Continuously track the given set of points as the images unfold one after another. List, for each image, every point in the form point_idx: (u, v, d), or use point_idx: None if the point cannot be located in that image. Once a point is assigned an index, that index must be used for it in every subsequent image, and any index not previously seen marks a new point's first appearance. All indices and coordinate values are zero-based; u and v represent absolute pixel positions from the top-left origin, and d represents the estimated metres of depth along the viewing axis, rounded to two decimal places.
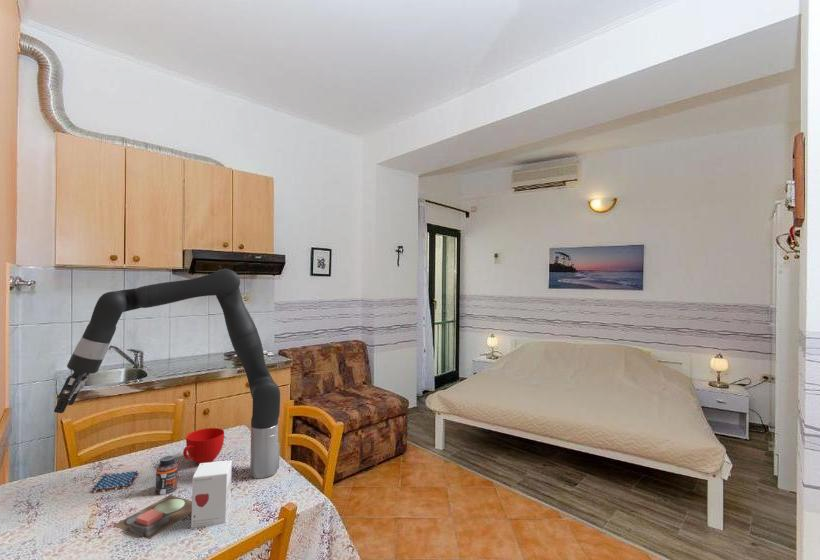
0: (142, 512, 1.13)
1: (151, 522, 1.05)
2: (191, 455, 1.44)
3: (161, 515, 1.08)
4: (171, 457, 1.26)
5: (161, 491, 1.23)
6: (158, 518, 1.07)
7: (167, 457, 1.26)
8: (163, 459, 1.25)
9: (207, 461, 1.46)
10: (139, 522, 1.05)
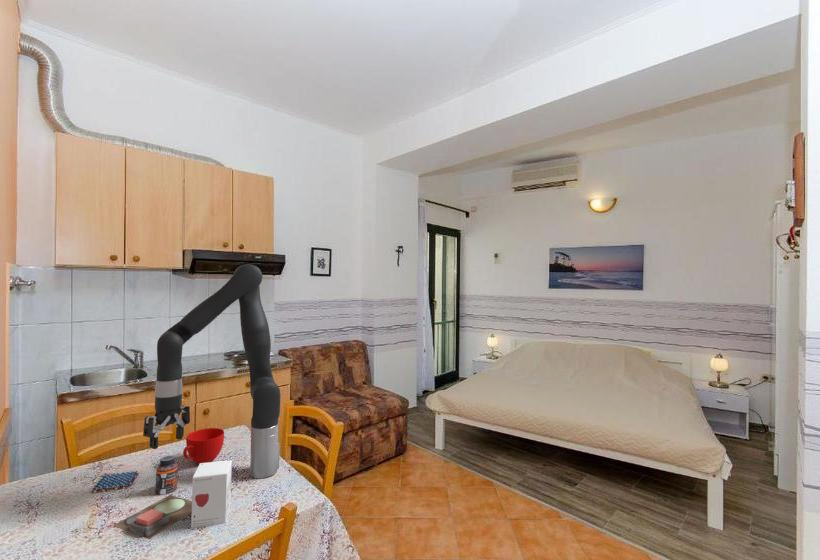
0: (142, 512, 1.13)
1: (151, 522, 1.05)
2: (191, 455, 1.44)
3: (161, 515, 1.08)
4: (171, 457, 1.26)
5: (162, 491, 1.23)
6: (158, 518, 1.07)
7: (167, 457, 1.26)
8: (163, 459, 1.25)
9: (207, 461, 1.46)
10: (139, 522, 1.05)
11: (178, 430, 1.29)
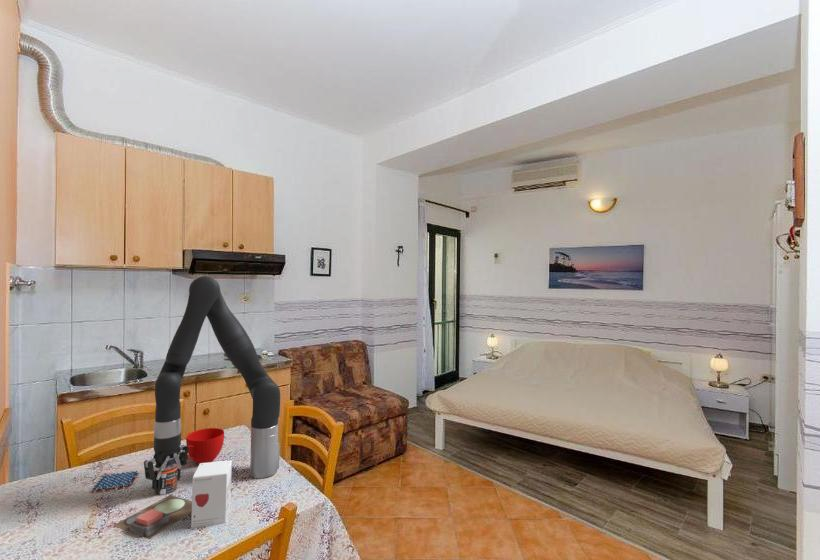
0: (142, 512, 1.13)
1: (151, 522, 1.05)
2: (191, 455, 1.44)
3: (161, 515, 1.08)
4: None
5: (161, 491, 1.23)
6: (158, 518, 1.07)
7: None
8: None
9: (207, 461, 1.46)
10: (139, 522, 1.05)
11: None
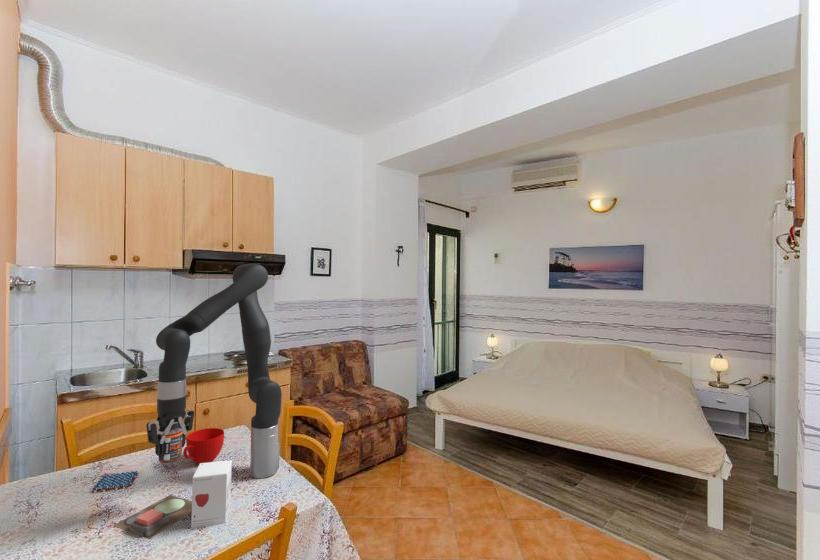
0: (142, 512, 1.13)
1: (151, 522, 1.05)
2: (191, 455, 1.44)
3: (161, 515, 1.08)
4: None
5: (165, 457, 1.14)
6: (158, 518, 1.07)
7: None
8: None
9: (207, 461, 1.46)
10: (139, 522, 1.05)
11: None
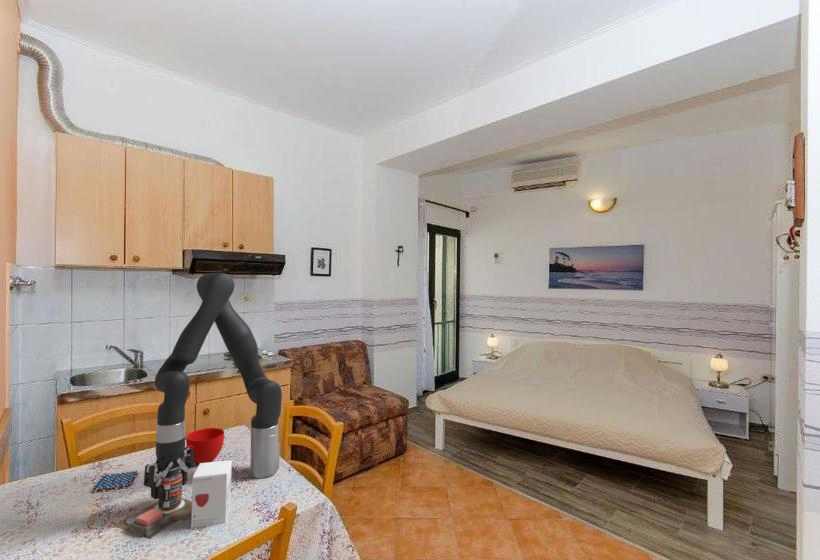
0: (142, 512, 1.13)
1: (151, 522, 1.05)
2: None
3: (161, 515, 1.08)
4: None
5: (165, 504, 1.14)
6: (158, 518, 1.07)
7: None
8: None
9: (207, 461, 1.46)
10: (139, 522, 1.05)
11: None
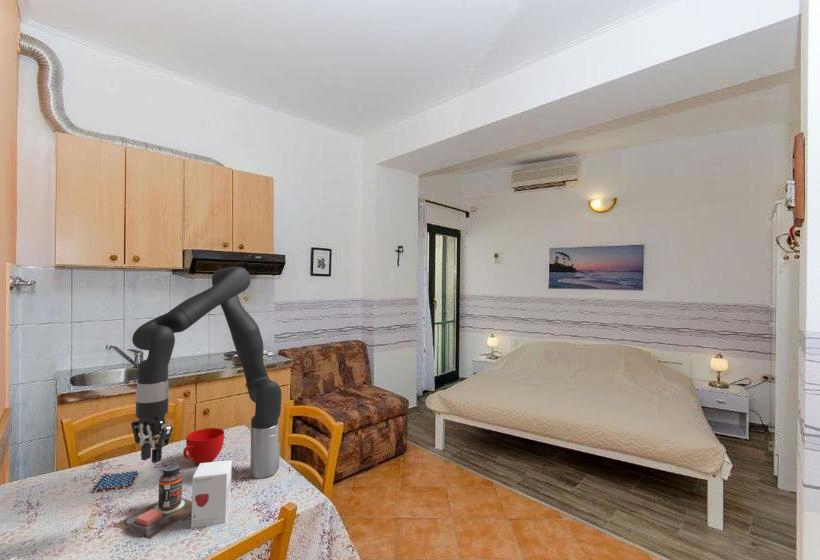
0: (142, 512, 1.13)
1: (151, 522, 1.05)
2: (191, 455, 1.44)
3: (161, 515, 1.08)
4: (175, 467, 1.17)
5: (165, 504, 1.14)
6: (158, 518, 1.07)
7: (171, 467, 1.17)
8: (166, 469, 1.16)
9: (207, 461, 1.46)
10: (139, 522, 1.05)
11: (146, 448, 1.07)
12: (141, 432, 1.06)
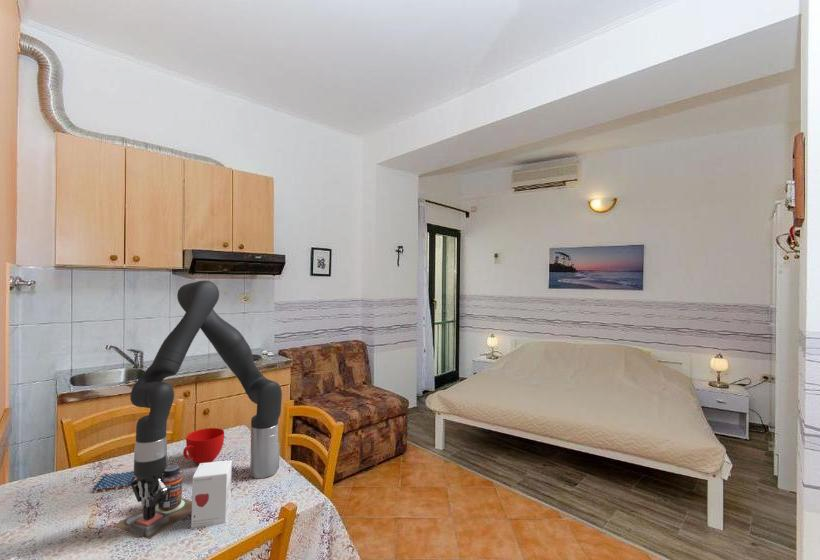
0: (142, 512, 1.13)
1: None
2: (191, 455, 1.44)
3: None
4: (175, 467, 1.17)
5: (165, 504, 1.14)
6: None
7: (171, 467, 1.17)
8: (166, 469, 1.16)
9: (207, 461, 1.46)
10: None
11: None
12: (141, 490, 1.06)
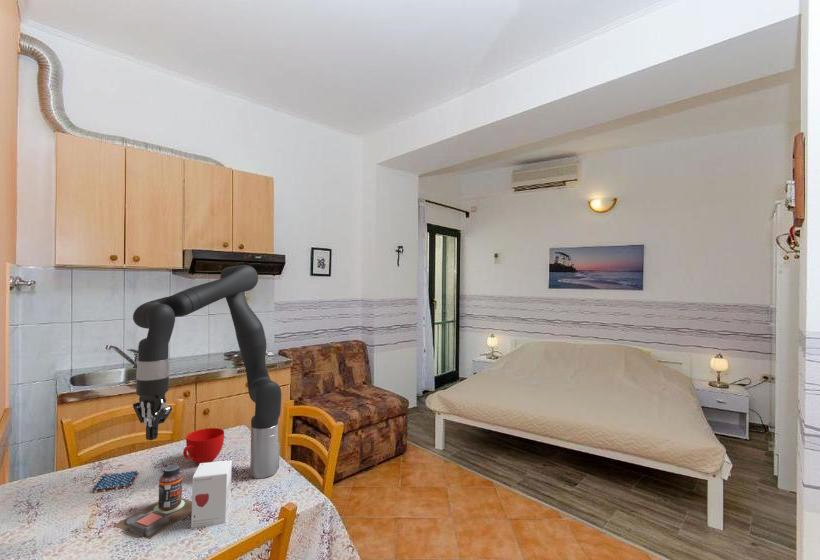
0: (142, 512, 1.13)
1: None
2: (191, 455, 1.44)
3: None
4: (175, 467, 1.17)
5: (165, 504, 1.14)
6: None
7: (171, 467, 1.17)
8: (167, 469, 1.16)
9: (207, 461, 1.46)
10: None
11: None
12: (143, 410, 1.06)
